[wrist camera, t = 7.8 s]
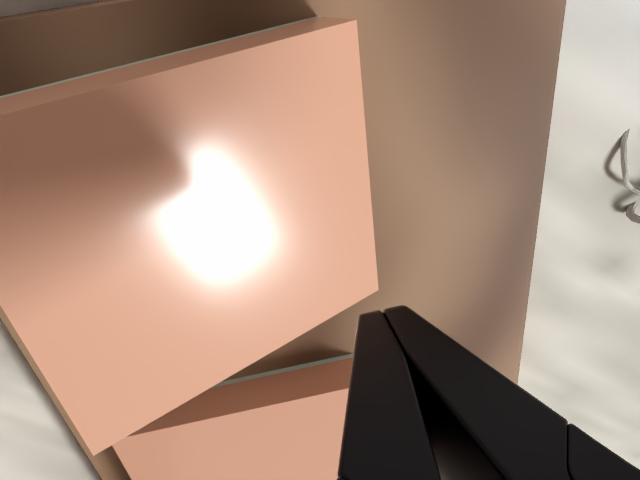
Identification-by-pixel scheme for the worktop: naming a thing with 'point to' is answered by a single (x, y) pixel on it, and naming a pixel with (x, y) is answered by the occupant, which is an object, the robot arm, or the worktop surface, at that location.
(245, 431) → the tile
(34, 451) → the worktop surface
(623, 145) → the flamethrower
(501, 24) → the board
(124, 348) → the tile
